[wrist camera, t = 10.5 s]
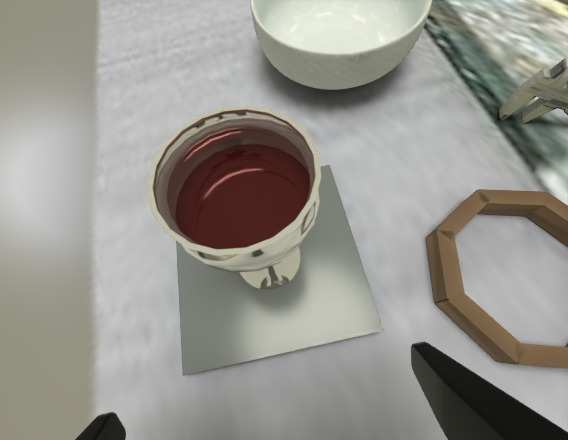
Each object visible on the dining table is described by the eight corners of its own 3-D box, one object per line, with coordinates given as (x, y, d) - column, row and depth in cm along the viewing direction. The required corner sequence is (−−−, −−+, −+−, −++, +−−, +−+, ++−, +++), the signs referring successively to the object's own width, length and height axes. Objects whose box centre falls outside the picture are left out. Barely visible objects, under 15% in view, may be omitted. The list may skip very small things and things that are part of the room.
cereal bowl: (277, 10, 36) (271, -62, 30) (408, 19, 34) (434, -57, 27) (243, 107, 30) (227, 41, 23) (403, 125, 27) (434, 59, 21)
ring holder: (637, 373, 18) (675, 377, 16) (441, 357, 19) (456, 359, 17) (574, 205, 23) (597, 193, 21) (420, 199, 24) (430, 187, 22)
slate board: (379, 330, 20) (383, 330, 19) (189, 373, 20) (182, 375, 19) (328, 172, 26) (329, 164, 25) (179, 203, 25) (174, 197, 24)
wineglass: (291, 318, 20) (277, 290, 9) (209, 280, 21) (108, 215, 10) (325, 235, 22) (348, 131, 11) (249, 206, 23) (203, 87, 12)
